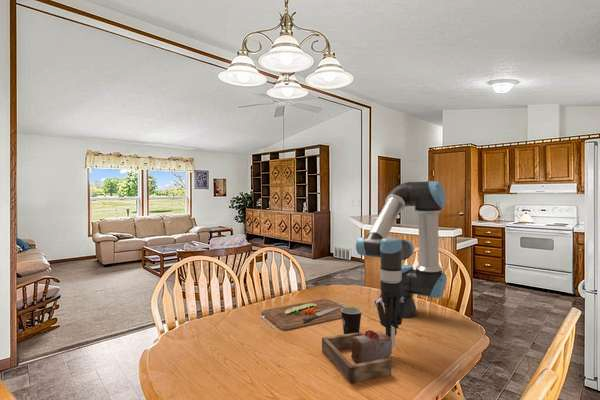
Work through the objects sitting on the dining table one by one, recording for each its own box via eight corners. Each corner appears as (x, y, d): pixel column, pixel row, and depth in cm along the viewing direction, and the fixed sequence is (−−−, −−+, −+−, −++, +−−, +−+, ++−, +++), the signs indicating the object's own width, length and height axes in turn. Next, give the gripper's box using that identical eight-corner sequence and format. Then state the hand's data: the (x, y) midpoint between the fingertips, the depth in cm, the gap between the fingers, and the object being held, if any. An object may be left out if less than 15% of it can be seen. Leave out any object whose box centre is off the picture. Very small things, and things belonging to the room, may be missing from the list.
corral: (357, 344, 133) (357, 332, 133) (391, 374, 111) (391, 359, 111) (322, 351, 128) (322, 338, 128) (350, 383, 106) (350, 367, 106)
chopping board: (330, 299, 190) (330, 294, 190) (361, 315, 166) (361, 309, 166) (255, 314, 168) (255, 308, 168) (277, 334, 145) (277, 327, 145)
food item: (379, 349, 129) (379, 324, 128) (394, 359, 121) (394, 332, 121) (349, 358, 123) (349, 331, 122) (363, 368, 115) (363, 339, 115)
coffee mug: (361, 338, 138) (361, 314, 138) (340, 337, 140) (340, 313, 140) (362, 327, 150) (362, 305, 150) (342, 326, 152) (342, 304, 151)
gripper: (399, 276, 129) (399, 337, 130) (370, 279, 125) (370, 342, 126) (412, 281, 122) (412, 346, 123) (381, 285, 118) (381, 351, 119)
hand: (391, 344), depth 124 cm, fingers closed
